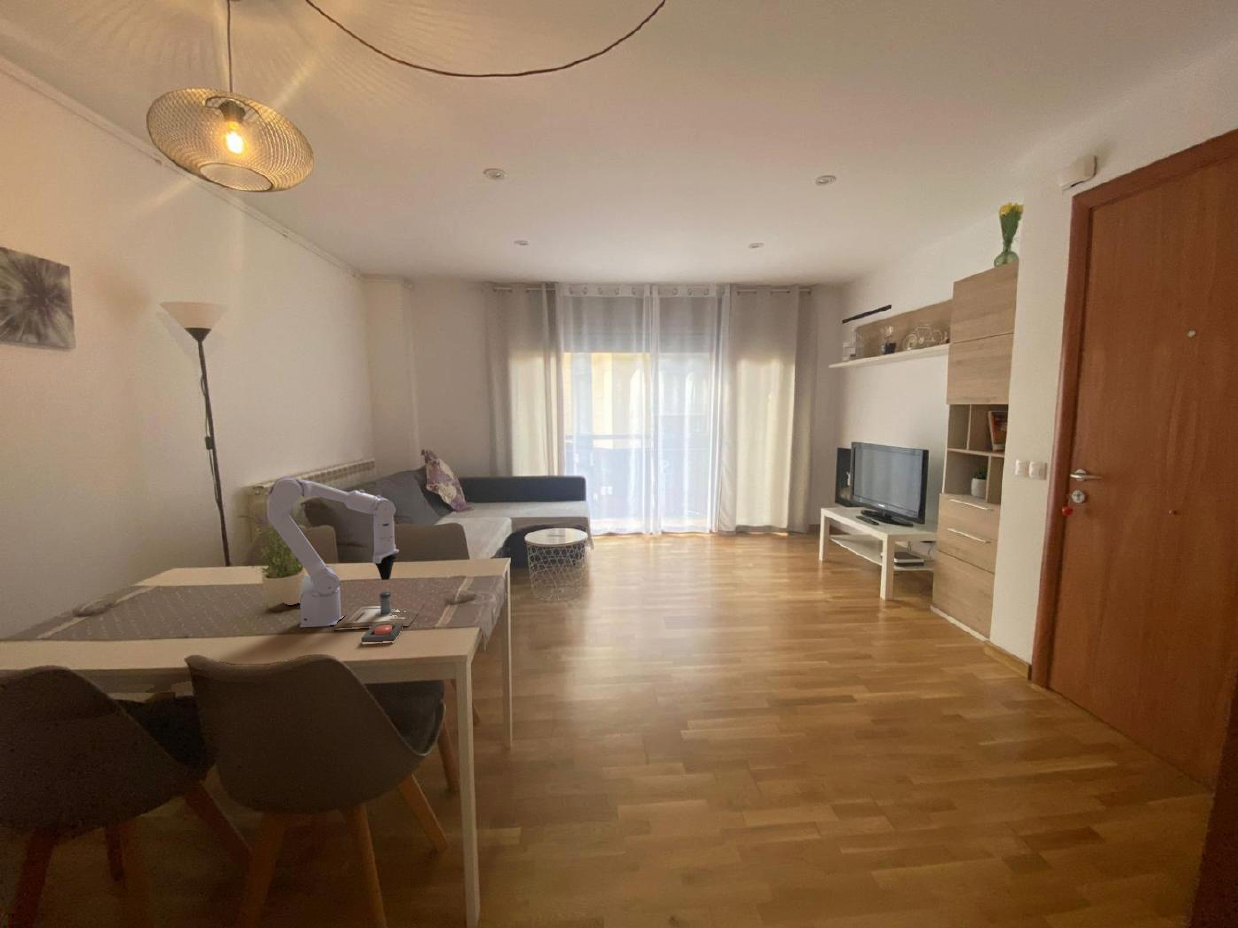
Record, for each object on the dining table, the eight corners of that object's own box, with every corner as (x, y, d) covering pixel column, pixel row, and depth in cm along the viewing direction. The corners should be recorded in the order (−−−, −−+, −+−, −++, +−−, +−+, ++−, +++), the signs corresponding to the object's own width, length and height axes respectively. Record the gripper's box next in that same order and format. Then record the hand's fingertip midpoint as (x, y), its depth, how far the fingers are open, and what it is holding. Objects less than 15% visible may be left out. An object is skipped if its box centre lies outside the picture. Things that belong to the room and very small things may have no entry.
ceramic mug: (277, 606, 146) (276, 582, 145) (299, 596, 154) (298, 574, 153) (306, 609, 144) (305, 585, 143) (327, 599, 152) (326, 577, 151)
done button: (371, 639, 123) (371, 632, 123) (377, 632, 127) (377, 625, 127) (389, 638, 123) (388, 631, 123) (394, 631, 128) (394, 624, 128)
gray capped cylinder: (378, 615, 137) (378, 595, 136) (382, 610, 140) (381, 591, 139) (389, 614, 137) (388, 595, 136) (392, 610, 140) (392, 591, 139)
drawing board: (334, 630, 129) (334, 626, 129) (357, 608, 145) (357, 604, 145) (409, 626, 132) (409, 622, 132) (424, 604, 148) (424, 601, 148)
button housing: (361, 644, 121) (361, 637, 121) (373, 631, 129) (373, 624, 128) (394, 643, 122) (393, 635, 122) (403, 629, 130) (403, 622, 130)
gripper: (389, 542, 137) (391, 586, 138) (405, 531, 151) (406, 571, 152) (364, 542, 135) (366, 587, 137) (382, 531, 150) (383, 572, 151)
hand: (385, 579), depth 144 cm, fingers closed
